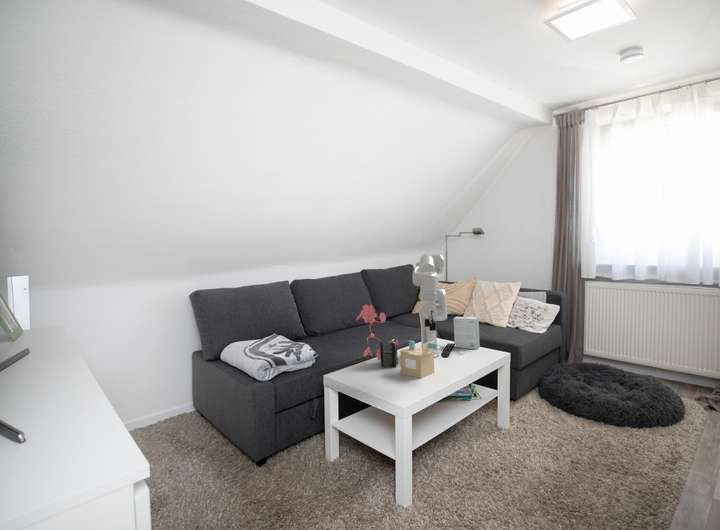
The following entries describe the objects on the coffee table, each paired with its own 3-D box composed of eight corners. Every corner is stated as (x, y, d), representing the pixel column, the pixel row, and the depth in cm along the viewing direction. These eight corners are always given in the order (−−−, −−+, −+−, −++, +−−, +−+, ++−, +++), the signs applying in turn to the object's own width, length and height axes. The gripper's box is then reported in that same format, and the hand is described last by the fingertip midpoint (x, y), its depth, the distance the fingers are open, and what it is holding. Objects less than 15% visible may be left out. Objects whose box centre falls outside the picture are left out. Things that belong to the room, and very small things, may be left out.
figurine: (363, 353, 272) (360, 301, 270) (393, 360, 254) (390, 304, 252) (346, 359, 261) (343, 304, 259) (377, 366, 243) (373, 308, 241)
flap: (434, 340, 226) (442, 341, 222) (434, 351, 226) (442, 352, 222) (422, 344, 218) (430, 346, 214) (422, 355, 218) (431, 357, 214)
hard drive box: (479, 346, 278) (479, 317, 277) (477, 349, 271) (476, 319, 270) (457, 344, 285) (456, 316, 284) (453, 347, 279) (453, 318, 278)
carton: (412, 367, 238) (411, 337, 237) (434, 372, 228) (433, 341, 227) (399, 372, 229) (398, 342, 228) (421, 378, 219) (420, 346, 218)
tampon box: (396, 367, 239) (395, 343, 238) (380, 367, 241) (379, 342, 240) (398, 362, 250) (397, 338, 249) (383, 362, 251) (382, 338, 251)
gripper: (418, 295, 228) (419, 325, 229) (426, 299, 210) (427, 332, 212) (431, 294, 228) (432, 324, 229) (440, 298, 211) (441, 331, 212)
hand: (430, 328), depth 220 cm, fingers open, 9 cm apart
